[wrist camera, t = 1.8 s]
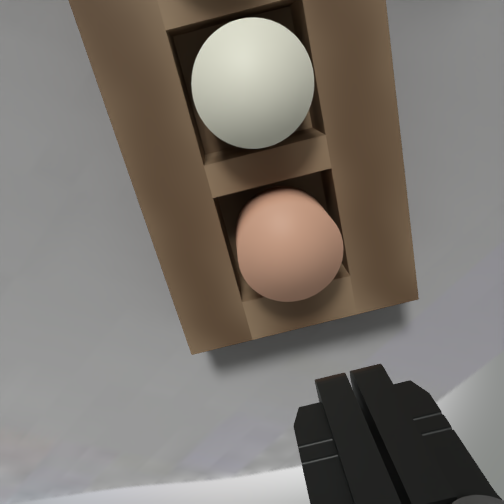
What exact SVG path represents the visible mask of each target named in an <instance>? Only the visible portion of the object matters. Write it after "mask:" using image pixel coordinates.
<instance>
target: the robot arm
mask: <svg viewBox="0 0 504 504" xmlns="http://www.w3.org/2000/svg"><path fill="white" fill-rule="evenodd" d="M350 378H351V383H352V387H351V385H350V383H349V380H348V378H347V376H346V374H345V373H341V374H337V375H332V376H328V377H324V378H320V379H316V380H315V384H316V389H317V393H318V398H319V403H315V404H311V405H307V406H303V407H299V409H298V412H297V416H296V419H295V423H294V430H295V435H296V439H297V444H298V448H299V453H300V458H301V462H302V467H303V472H304V476H305V481H306V485H307V490H308V494H309V499H310V503H311V504H504V501H503V500H502V499H501V498H500V497H499V496H498V495H497V493H496V492H495V491H494V489H493V488H492V487H491V485H490V484H489V482H488V481H487V479H486V478H485V476H484V475H483V473H482V472H481V470H480V469H479V467H478V466H477V464H476V463H475V461H474V460H473V458H472V457H471V455H470V454H469V452H468V451H467V449H466V448H465V446H464V445H463V443H462V442H461V440H460V439H459V437H458V436H457V434H456V433H455V431H454V430H452V428H451V425H450V424H449V422H448V421H447V419H446V418H445V416H444V415H442V413H441V410H440V409H439V407H438V406H437V404H436V403H435V401H434V400H433V398H432V397H431V395H430V394H429V393H428V392H427V391H425V390H424V389H422V388H421V387H419V386H418V385H416V384H415V383H413V382H412V381H406V382H402V383H397V384H393V383H392V381H391V379H390V378H389V376H388V374H387V372H386V371H385V369H384V367H383V366H382V365H381V364H377V365H373V366H369V367H365V368H361V369H357V370H353V371H350ZM352 388H353V390H352Z"/></svg>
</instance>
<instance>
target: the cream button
mask: <svg viewBox="0 0 504 504" xmlns="http://www.w3.org/2000/svg"><path fill="white" fill-rule="evenodd" d="M191 86H192V95H193V100H194V104H195V107H196V110H197V112H198V114H199V116H200V118H201V119H202V121H203V122H204V124H205V125H206V126H207V127H208V129H209V130H210V131H211V132H212V133H213V134H214V135H216V136H217V137H218V138H220V139H221V140H223V141H225V142H227V143H228V144H231V145H234V146H236V147H241V148H247V149H259V148H265V147H269V146H272V145H275V144H277V143H279V142H281V141H283V140H284V139H286V138H287V137H289V136H290V135H291V134H292V133H293V132H294V131H295V130H296V129H297V128H298V127H299V126H300V124H301V123H302V122H303V120H304V119H305V117H306V115H307V113H308V111H309V108H310V106H311V102H312V98H313V93H314V73H313V68H312V64H311V61H310V58H309V55H308V53H307V51H306V49H305V47H304V46H303V45H302V43H301V42H300V40H299V39H298V38H297V37H296V36H295V35H294V34H293V33H292V32H291V31H290V30H288V29H287V28H286V27H284V26H282V25H281V24H279V23H276V22H274V21H272V20H268V19H264V18H256V17H254V18H243V19H238V20H235V21H232V22H229V23H227V24H225V25H224V26H222V27H220V28H219V29H218V30H216V31H215V32H214V33H213V34H212V35H211V36H210V37H209V38H208V39H207V40H206V42H205V43H204V44H203V46H202V47H201V49H200V51H199V53H198V55H197V57H196V60H195V63H194V66H193V72H192V82H191Z"/></svg>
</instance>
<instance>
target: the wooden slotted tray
mask: <svg viewBox="0 0 504 504" xmlns="http://www.w3.org/2000/svg"><path fill="white" fill-rule="evenodd" d="M69 3H70V6H71V9H72V11H73V14H74V17H75V20H76V23H77V26H78V29H79V32H80V35H81V37H82V40H83V43H84V46H85V49H86V52H87V55H88V58H89V60H90V63H91V66H92V69H93V72H94V75H95V78H96V81H97V83H98V86H99V89H100V92H101V95H102V98H103V101H104V104H105V107H106V109H107V112H108V115H109V118H110V121H111V124H112V127H113V130H114V132H115V135H116V138H117V141H118V144H119V147H120V150H121V153H122V155H123V158H124V161H125V164H126V167H127V170H128V173H129V176H130V179H131V181H132V184H133V187H134V190H135V193H136V196H137V199H138V202H139V204H140V207H141V210H142V213H143V216H144V219H145V222H146V225H147V227H148V230H149V233H150V236H151V239H152V242H153V245H154V248H155V251H156V253H157V256H158V259H159V262H160V265H161V268H162V271H163V274H164V276H165V279H166V282H167V285H168V288H169V291H170V294H171V297H172V299H173V302H174V305H175V308H176V311H177V314H178V317H179V320H180V323H181V325H182V328H183V331H184V334H185V337H186V340H187V343H188V346H189V348H190V351H191V354H192V355H193V354H197V353H201V352H205V351H210V350H214V349H218V348H222V347H226V346H230V345H234V344H238V343H242V342H246V341H250V340H254V339H258V338H263V337H267V336H271V335H275V334H279V333H283V332H287V331H291V330H295V329H299V328H303V327H307V326H311V325H316V324H320V323H324V322H328V321H332V320H336V319H340V318H344V317H348V316H352V315H356V314H360V313H364V312H369V311H373V310H377V309H381V308H385V307H389V306H393V305H397V304H401V303H405V302H409V301H413V300H417V299H418V289H417V280H416V271H415V262H414V253H413V244H412V235H411V226H410V217H409V208H408V199H407V190H406V181H405V171H404V162H403V153H402V144H401V135H400V126H399V117H398V108H397V99H396V90H395V81H394V72H393V63H392V53H391V44H390V35H389V26H388V17H387V8H386V0H69ZM254 17H256V18H264V19H268V20H272V21H274V22H276V23H279V24H281V25H282V26H284V27H286V28H287V29H288V30H290V31H291V32H292V33H293V34H294V35H295V36H296V37H297V38H298V39H299V40H300V42H301V43H302V45H303V46H304V47H305V49H306V51H307V53H308V55H309V58H310V61H311V64H312V68H313V73H314V93H313V98H312V102H311V106H310V108H309V111H308V113H307V115H306V117H305V119H304V120H303V122H302V123H301V124H300V126H299V127H298V128H297V129H296V130H295V131H294V132H293V133H292V134H291V135H290V136H289V137H287V138H286V139H284V140H283V141H281V142H279V143H277V144H275V145H272V146H269V147H265V148H259V149H247V148H241V147H236V146H234V145H231V144H228V143H227V142H225V141H223V140H221V139H220V138H218V137H217V136H216V135H214V134H213V133H212V132H211V131H210V130H209V129H208V127H207V126H206V125H205V124H204V122H203V121H202V119H201V118H200V116H199V114H198V112H197V110H196V107H195V104H194V100H193V95H192V86H191V82H192V72H193V66H194V63H195V60H196V57H197V55H198V53H199V51H200V49H201V47H202V46H203V44H204V43H205V42H206V40H207V39H208V38H209V37H210V36H211V35H212V34H213V33H214V32H215V31H216V30H218V29H219V28H220V27H222V26H224V25H225V24H227V23H229V22H232V21H235V20H238V19H243V18H254ZM277 186H290V187H295V188H298V189H301V190H303V191H305V192H307V193H309V194H310V195H312V196H313V197H314V198H315V199H316V200H317V201H318V202H319V203H320V205H321V206H322V207H323V208H324V210H325V211H326V212H327V214H328V215H329V216H330V217H331V219H332V220H333V221H334V222H335V224H336V225H337V227H338V229H339V231H340V233H341V236H342V240H343V258H342V263H341V266H340V268H339V270H338V273H337V274H336V276H335V277H334V279H333V280H332V281H331V282H330V284H329V285H328V286H327V287H325V288H324V289H323V290H322V291H320V292H319V293H317V294H315V295H314V296H311V297H309V298H307V299H303V300H300V301H293V302H281V301H275V300H272V299H269V298H266V297H264V296H262V295H260V294H259V293H257V292H256V291H255V290H253V289H252V288H251V287H250V286H249V285H248V283H247V282H246V281H245V279H244V277H243V275H242V274H241V271H240V268H239V263H238V256H237V247H236V238H235V228H236V222H237V219H238V216H239V214H240V212H241V210H242V208H243V207H244V206H245V204H246V203H247V202H248V201H249V200H250V199H251V198H252V197H253V196H255V195H256V194H258V193H259V192H261V191H264V190H266V189H269V188H272V187H277Z"/></svg>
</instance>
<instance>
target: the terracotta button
mask: <svg viewBox="0 0 504 504" xmlns="http://www.w3.org/2000/svg"><path fill="white" fill-rule="evenodd" d="M235 238H236V247H237V256H238V263H239V268H240V271H241V274H242V275H243V277H244V279H245V281H246V282H247V283H248V285H249V286H250V287H251V288H252V289H253V290H255V291H256V292H257V293H259V294H260V295H262V296H264V297H266V298H269V299H272V300H275V301H281V302H293V301H300V300H303V299H307V298H309V297H311V296H314V295H315V294H317V293H319V292H320V291H322V290H323V289H324V288H325V287H327V286H328V285H329V284H330V282H331V281H332V280H333V279H334V277H335V276H336V274H337V273H338V270H339V268H340V266H341V263H342V258H343V240H342V236H341V233H340V231H339V229H338V227H337V225H336V224H335V222H334V221H333V220H332V219H331V217H330V216H329V215H328V214H327V212H326V211H325V210H324V208H323V207H322V206H321V205H320V203H319V202H318V201H317V200H316V199H315V198H314V197H313V196H312V195H310V194H309V193H307V192H305V191H303V190H301V189H298V188H295V187H290V186H277V187H272V188H269V189H266V190H264V191H261V192H259V193H258V194H256V195H255V196H253V197H252V198H251V199H250V200H249V201H248V202H247V203H246V204H245V206H244V207H243V208H242V210H241V212H240V214H239V216H238V219H237V222H236V228H235Z"/></svg>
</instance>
